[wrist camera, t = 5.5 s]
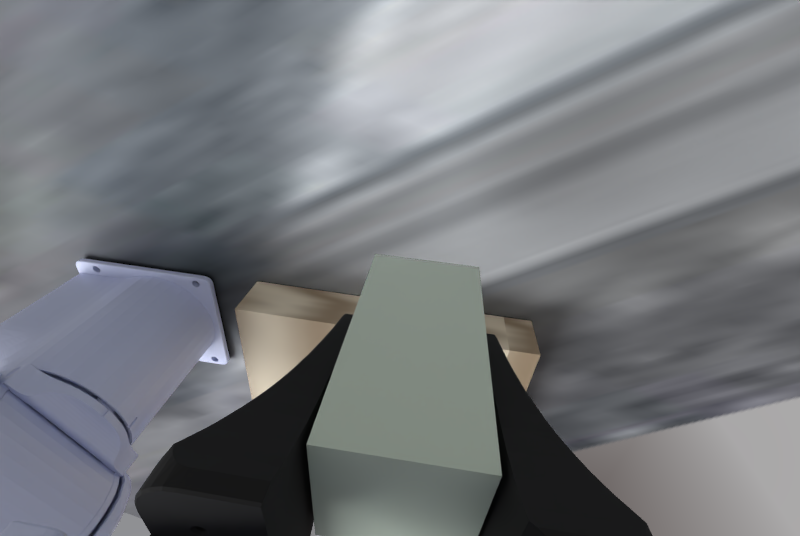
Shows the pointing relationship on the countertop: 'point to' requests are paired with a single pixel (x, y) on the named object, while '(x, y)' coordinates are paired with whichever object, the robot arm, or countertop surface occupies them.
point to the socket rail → (315, 317)
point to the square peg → (408, 409)
